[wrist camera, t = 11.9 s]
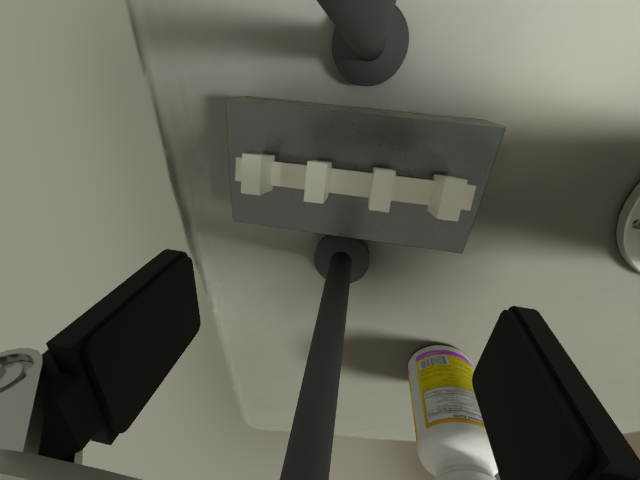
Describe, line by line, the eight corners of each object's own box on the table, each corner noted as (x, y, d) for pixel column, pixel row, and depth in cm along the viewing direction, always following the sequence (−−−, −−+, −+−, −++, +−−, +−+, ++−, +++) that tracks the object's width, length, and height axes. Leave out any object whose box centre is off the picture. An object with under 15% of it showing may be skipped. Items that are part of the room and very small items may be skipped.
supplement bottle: (448, 392, 36) (483, 536, 24) (396, 371, 35) (407, 507, 24) (484, 356, 33) (542, 503, 21) (426, 333, 32) (455, 469, 21)
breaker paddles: (472, 178, 21) (493, 183, 17) (463, 213, 21) (482, 224, 18) (241, 151, 22) (219, 150, 19) (240, 185, 23) (219, 190, 19)
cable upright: (379, 260, 29) (397, 680, 9) (338, 284, 31) (275, 674, 11) (346, 221, 28) (277, 610, 7) (305, 249, 30) (163, 618, 9)
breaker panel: (485, 120, 22) (506, 127, 19) (450, 230, 27) (462, 253, 23) (246, 96, 24) (225, 99, 21) (250, 203, 28) (232, 221, 25)
